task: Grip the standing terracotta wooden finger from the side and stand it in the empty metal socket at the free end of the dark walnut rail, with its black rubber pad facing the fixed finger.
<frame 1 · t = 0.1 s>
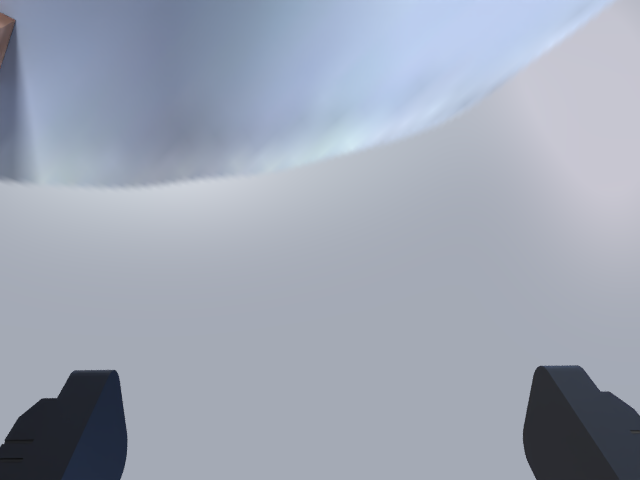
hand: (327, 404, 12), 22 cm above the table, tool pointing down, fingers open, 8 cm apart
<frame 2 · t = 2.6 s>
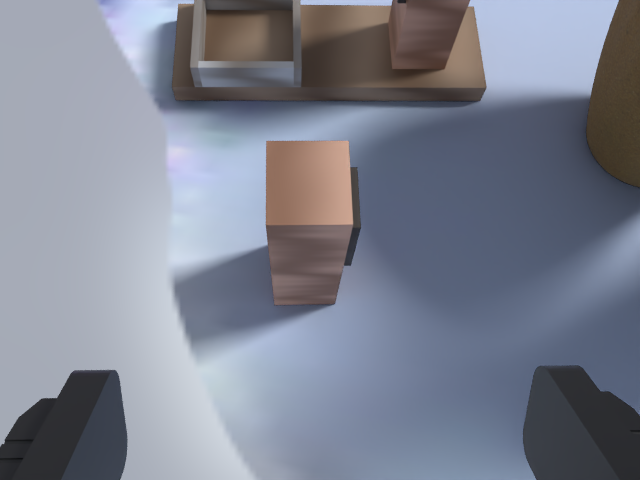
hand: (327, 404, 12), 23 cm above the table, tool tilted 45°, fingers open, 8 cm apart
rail: (328, 59, 43), on the table
plant pot: (635, 145, 41), on the table
finger: (304, 272, 37), on the table
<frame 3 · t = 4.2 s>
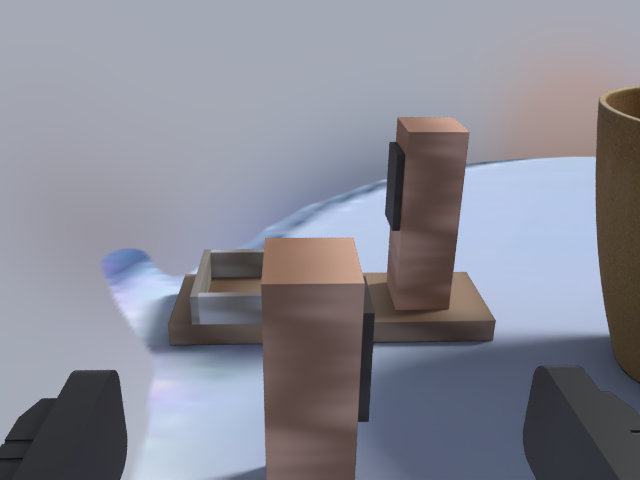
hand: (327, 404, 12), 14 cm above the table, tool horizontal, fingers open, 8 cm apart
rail: (330, 314, 42), on the table
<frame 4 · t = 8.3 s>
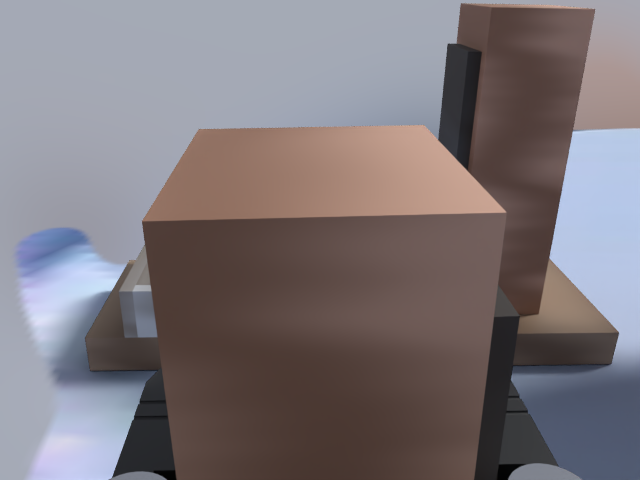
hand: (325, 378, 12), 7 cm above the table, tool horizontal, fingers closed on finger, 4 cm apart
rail: (348, 321, 27), on the table
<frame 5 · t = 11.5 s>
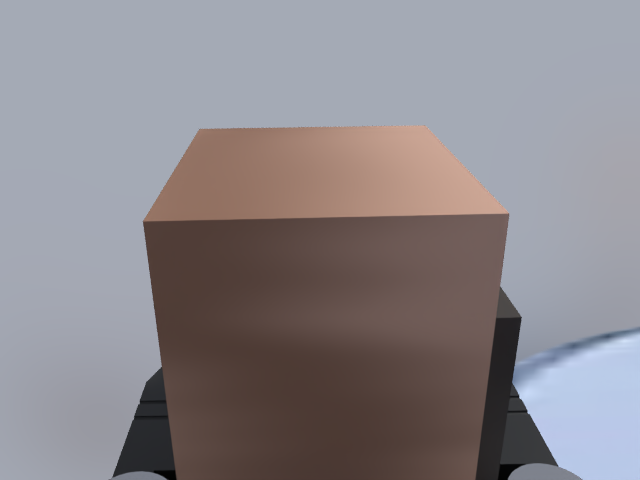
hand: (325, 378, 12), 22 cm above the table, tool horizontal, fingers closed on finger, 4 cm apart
when the fingers open (9 cm above the table, at t = 15.0 s): finger drops 1 cm, resting on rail.
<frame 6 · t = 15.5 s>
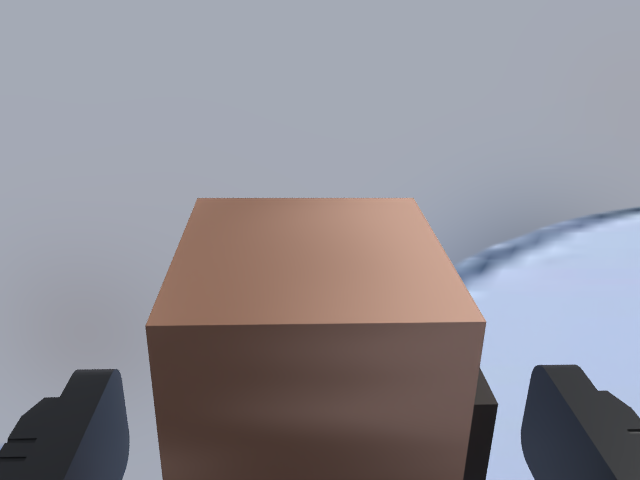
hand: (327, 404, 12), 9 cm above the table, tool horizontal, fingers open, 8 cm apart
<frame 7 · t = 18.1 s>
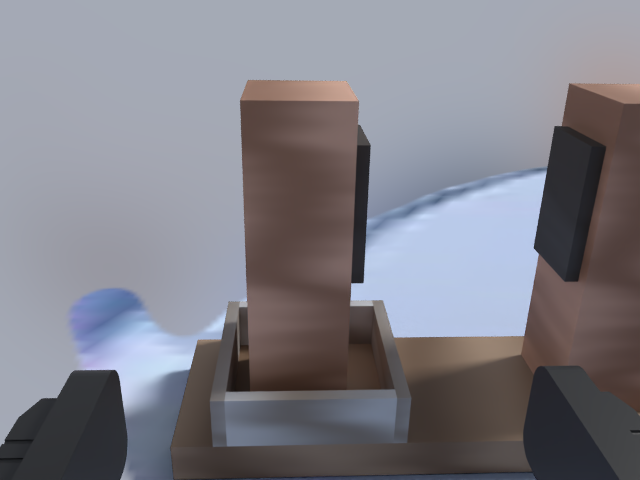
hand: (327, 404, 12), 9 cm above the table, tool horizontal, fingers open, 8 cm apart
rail: (436, 411, 26), on the table
finger: (297, 385, 25), point 1 cm above the table, touching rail
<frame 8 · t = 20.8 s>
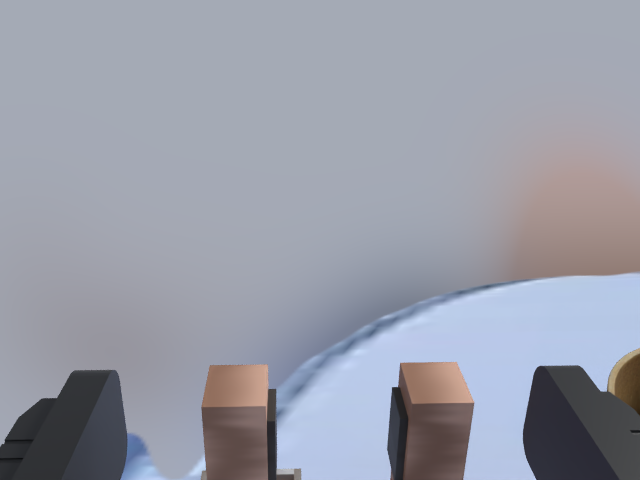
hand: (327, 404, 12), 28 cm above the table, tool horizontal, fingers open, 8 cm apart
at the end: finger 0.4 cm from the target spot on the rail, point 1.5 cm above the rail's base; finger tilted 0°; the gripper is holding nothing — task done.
